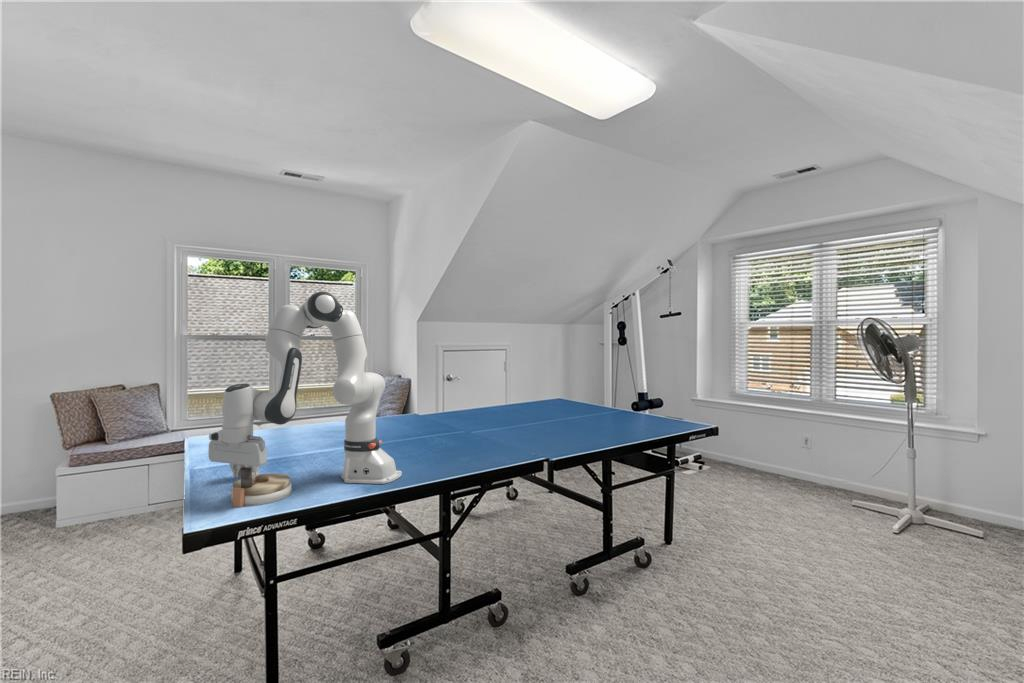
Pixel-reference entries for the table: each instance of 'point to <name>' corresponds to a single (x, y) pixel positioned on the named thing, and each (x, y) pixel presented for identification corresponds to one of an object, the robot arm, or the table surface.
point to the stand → (257, 497)
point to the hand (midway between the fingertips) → (237, 477)
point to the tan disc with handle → (261, 482)
